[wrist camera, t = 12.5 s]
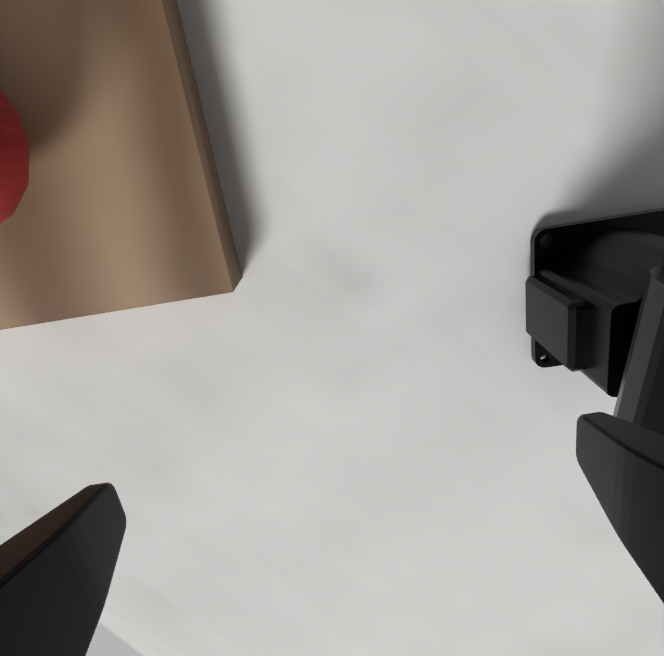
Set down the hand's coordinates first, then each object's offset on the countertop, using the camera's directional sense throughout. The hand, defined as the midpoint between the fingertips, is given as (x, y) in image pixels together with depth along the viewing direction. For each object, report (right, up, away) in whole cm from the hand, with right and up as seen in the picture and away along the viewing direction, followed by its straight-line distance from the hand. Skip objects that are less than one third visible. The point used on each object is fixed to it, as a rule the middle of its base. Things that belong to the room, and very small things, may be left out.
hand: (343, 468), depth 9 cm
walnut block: (-12, +11, +11) cm, 19 cm away
